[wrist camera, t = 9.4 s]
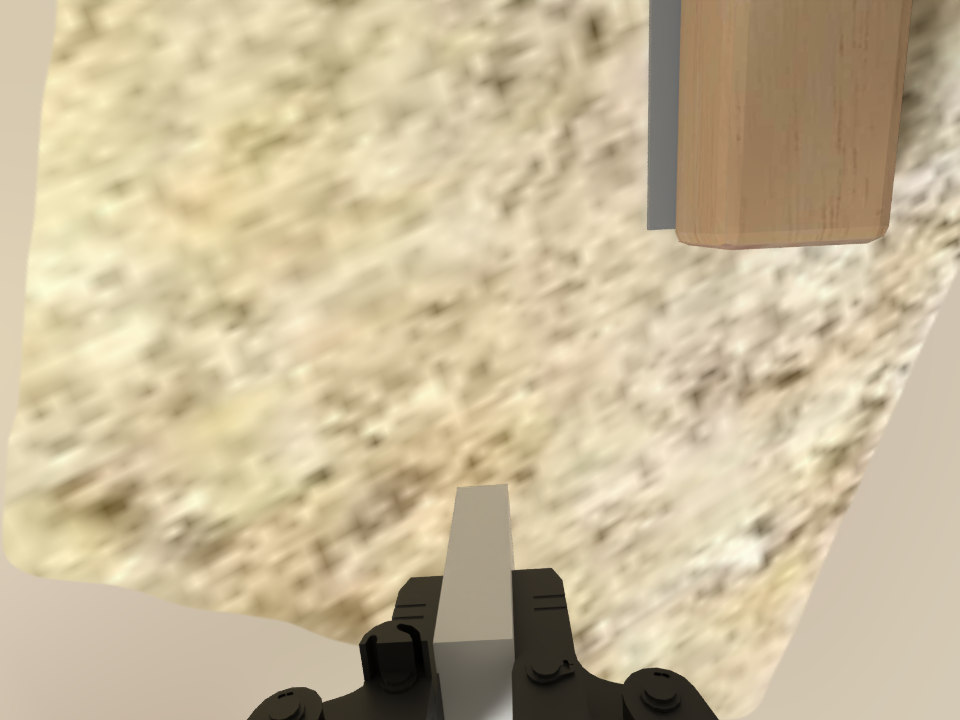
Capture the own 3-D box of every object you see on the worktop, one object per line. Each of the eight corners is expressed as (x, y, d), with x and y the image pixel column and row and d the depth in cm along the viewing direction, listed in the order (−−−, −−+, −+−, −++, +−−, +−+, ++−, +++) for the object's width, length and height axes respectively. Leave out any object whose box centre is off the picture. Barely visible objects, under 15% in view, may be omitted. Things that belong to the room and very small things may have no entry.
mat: (650, -87, 40) (652, -92, 39) (862, -104, 39) (867, -109, 39) (647, 230, 44) (649, 230, 44) (836, 219, 44) (840, 219, 43)
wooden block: (807, 238, 44) (829, -67, 39) (895, 242, 34) (939, -163, 29) (671, 245, 44) (678, -56, 40) (720, 251, 34) (736, -147, 30)
